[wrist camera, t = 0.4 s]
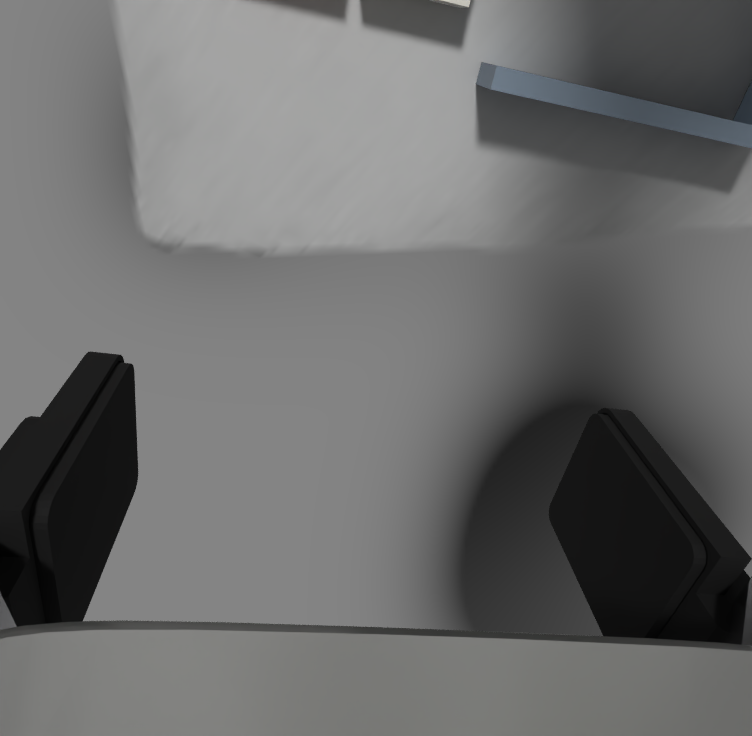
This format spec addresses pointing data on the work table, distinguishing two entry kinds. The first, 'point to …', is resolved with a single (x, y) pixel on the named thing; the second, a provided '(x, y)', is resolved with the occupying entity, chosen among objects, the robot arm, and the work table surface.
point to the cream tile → (454, 3)
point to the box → (621, 105)
